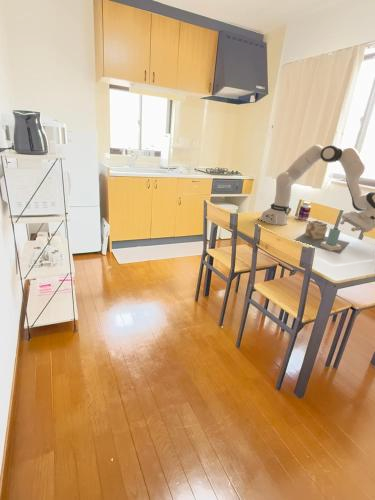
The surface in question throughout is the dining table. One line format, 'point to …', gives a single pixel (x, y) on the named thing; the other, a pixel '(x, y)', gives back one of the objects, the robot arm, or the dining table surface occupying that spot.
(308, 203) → the pill bottle
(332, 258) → the dining table surface
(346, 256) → the dining table surface
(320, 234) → the brown mottled container
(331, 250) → the lower socket
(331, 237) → the plug block
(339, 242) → the mat
